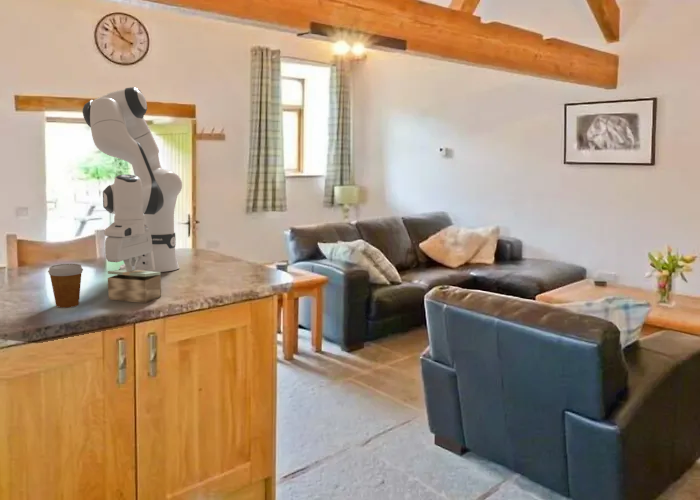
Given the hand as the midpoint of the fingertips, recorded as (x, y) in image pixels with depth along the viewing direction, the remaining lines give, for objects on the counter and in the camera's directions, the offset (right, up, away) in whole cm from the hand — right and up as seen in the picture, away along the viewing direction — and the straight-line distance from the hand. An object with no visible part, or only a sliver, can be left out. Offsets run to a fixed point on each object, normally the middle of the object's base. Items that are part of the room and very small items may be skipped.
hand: (130, 271), depth 194 cm
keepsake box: (0, -9, +3) cm, 9 cm away
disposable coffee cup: (-16, -10, -7) cm, 21 cm away
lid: (+1, -1, +1) cm, 2 cm away
